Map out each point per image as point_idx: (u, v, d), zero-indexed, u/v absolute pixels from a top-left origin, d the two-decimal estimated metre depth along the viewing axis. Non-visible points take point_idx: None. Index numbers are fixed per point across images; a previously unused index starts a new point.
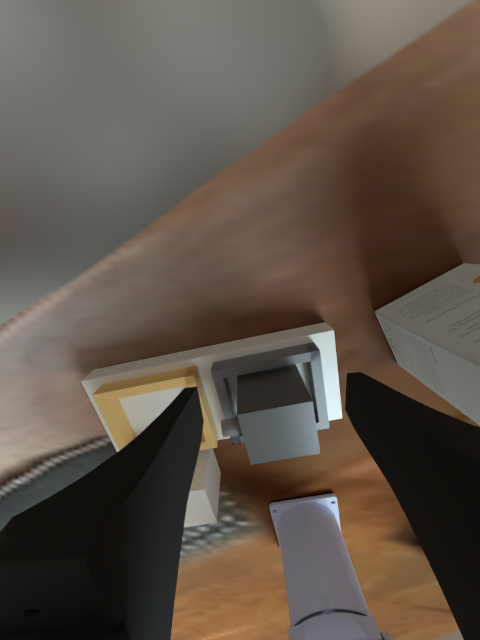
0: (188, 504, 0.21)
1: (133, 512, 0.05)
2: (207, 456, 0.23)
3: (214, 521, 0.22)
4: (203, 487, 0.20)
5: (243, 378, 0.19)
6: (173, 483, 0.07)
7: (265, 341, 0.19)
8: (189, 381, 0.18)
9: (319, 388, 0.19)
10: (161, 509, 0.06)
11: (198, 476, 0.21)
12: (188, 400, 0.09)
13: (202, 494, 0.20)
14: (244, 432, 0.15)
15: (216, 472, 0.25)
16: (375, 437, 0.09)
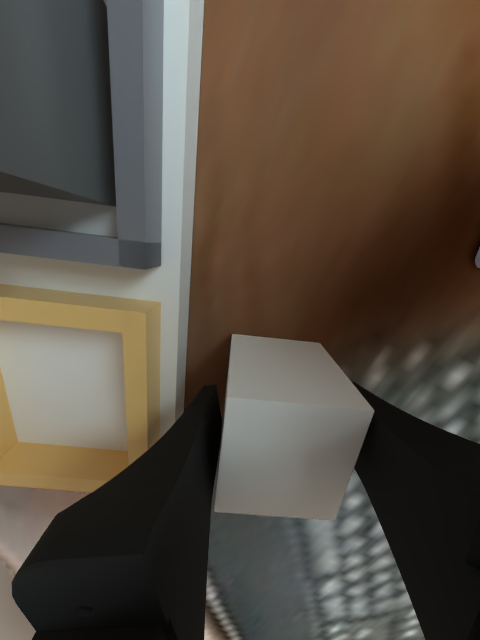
0: (269, 450, 0.07)
1: (175, 509, 0.05)
2: (230, 350, 0.10)
3: (367, 415, 0.07)
4: (226, 396, 0.07)
5: None
6: (201, 481, 0.07)
7: None
8: None
9: None
10: (194, 507, 0.06)
11: None
12: (210, 398, 0.09)
13: (244, 408, 0.07)
14: None
15: (294, 350, 0.10)
16: None
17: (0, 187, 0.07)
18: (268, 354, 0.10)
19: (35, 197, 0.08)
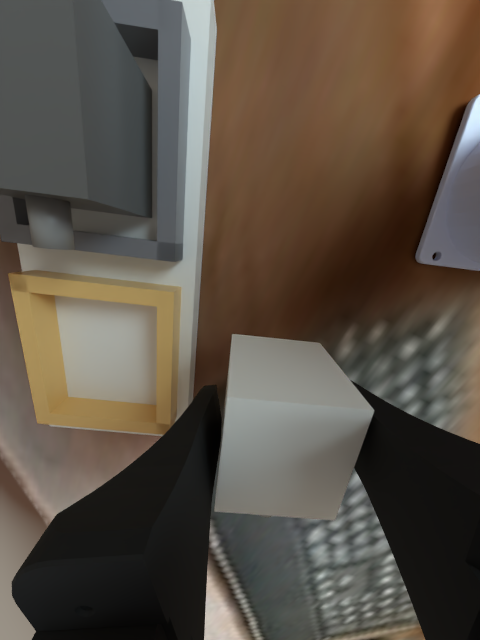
0: (269, 450, 0.07)
1: (174, 509, 0.05)
2: (230, 350, 0.10)
3: (367, 414, 0.07)
4: (226, 396, 0.07)
5: None
6: (201, 481, 0.07)
7: None
8: (21, 284, 0.11)
9: None
10: (193, 507, 0.06)
11: None
12: (210, 398, 0.09)
13: (244, 408, 0.07)
14: None
15: (294, 350, 0.10)
16: None
17: (80, 207, 0.10)
18: (268, 354, 0.10)
19: (96, 211, 0.11)
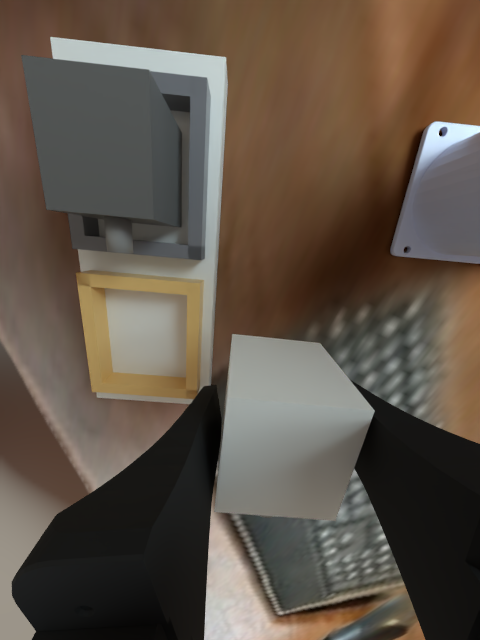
0: (269, 450, 0.07)
1: (174, 509, 0.05)
2: (230, 350, 0.10)
3: (367, 415, 0.07)
4: (226, 396, 0.07)
5: None
6: (201, 481, 0.07)
7: None
8: (85, 281, 0.14)
9: None
10: (194, 507, 0.06)
11: None
12: (210, 398, 0.09)
13: (244, 408, 0.07)
14: (82, 208, 0.10)
15: (295, 350, 0.10)
16: None
17: None
18: (268, 354, 0.10)
19: (138, 223, 0.15)
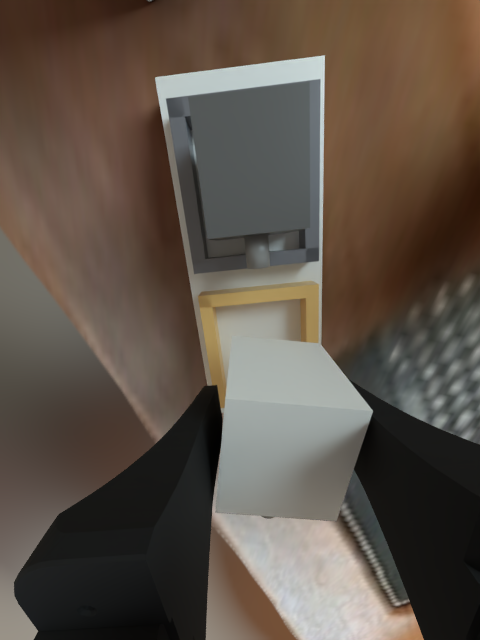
0: (268, 451, 0.07)
1: (176, 509, 0.05)
2: (230, 352, 0.10)
3: (365, 415, 0.07)
4: (225, 398, 0.07)
5: None
6: (202, 481, 0.07)
7: None
8: (206, 302, 0.15)
9: None
10: (195, 506, 0.06)
11: None
12: (211, 398, 0.09)
13: (243, 410, 0.07)
14: (241, 230, 0.10)
15: (294, 351, 0.10)
16: None
17: None
18: (268, 355, 0.10)
19: None
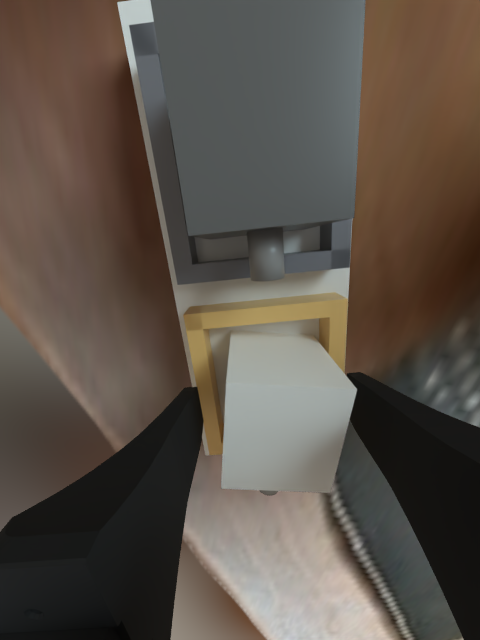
0: (266, 429, 0.08)
1: (133, 512, 0.05)
2: None
3: (350, 393, 0.08)
4: (226, 383, 0.08)
5: None
6: (173, 483, 0.07)
7: None
8: (195, 323, 0.11)
9: None
10: (161, 509, 0.06)
11: None
12: (188, 400, 0.09)
13: (242, 392, 0.08)
14: (243, 222, 0.06)
15: (288, 342, 0.11)
16: (375, 437, 0.09)
17: None
18: (264, 346, 0.11)
19: None
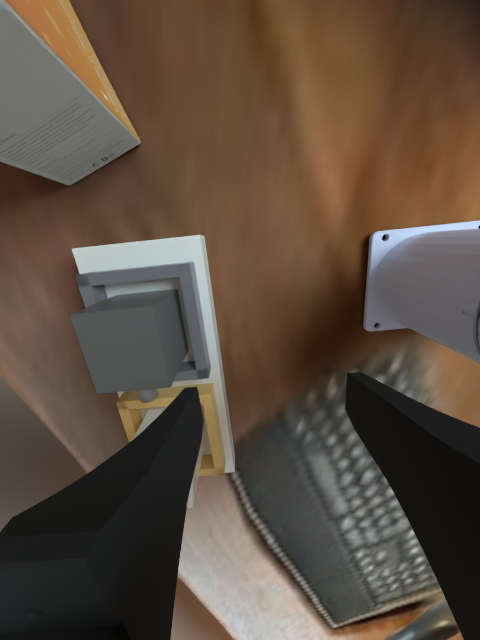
0: None
1: (133, 512, 0.05)
2: (144, 418, 0.18)
3: None
4: None
5: None
6: (173, 483, 0.07)
7: None
8: (123, 406, 0.18)
9: (127, 275, 0.15)
10: (161, 509, 0.06)
11: None
12: (188, 400, 0.09)
13: None
14: (121, 389, 0.14)
15: None
16: (375, 437, 0.09)
17: None
18: None
19: None
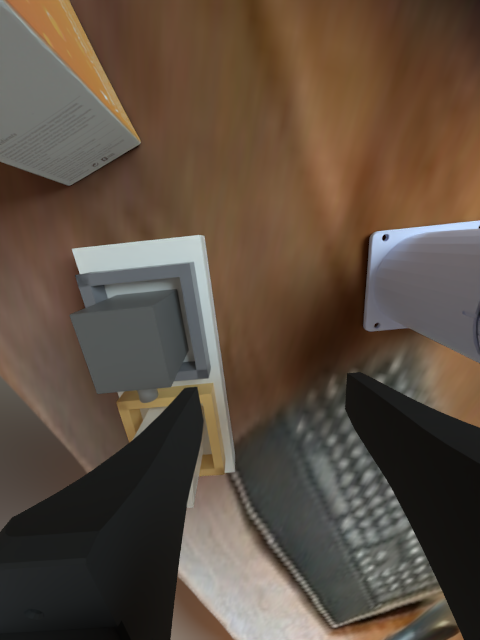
0: None
1: (133, 512, 0.05)
2: (144, 418, 0.18)
3: None
4: None
5: None
6: (173, 483, 0.07)
7: None
8: (123, 406, 0.18)
9: (127, 275, 0.15)
10: (161, 509, 0.06)
11: None
12: (188, 400, 0.09)
13: None
14: (121, 389, 0.14)
15: None
16: (375, 437, 0.09)
17: None
18: None
19: None
